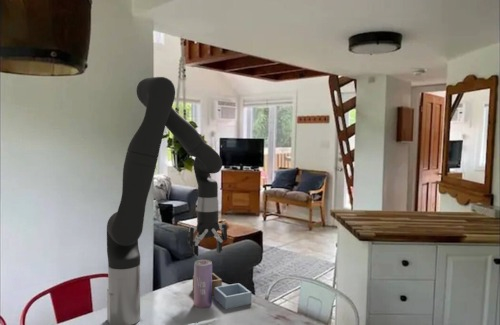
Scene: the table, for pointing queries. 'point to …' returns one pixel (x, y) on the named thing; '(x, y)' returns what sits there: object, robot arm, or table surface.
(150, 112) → the robot arm
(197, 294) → the beverage can
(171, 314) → the table surface
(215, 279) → the walnut box
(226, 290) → the tray
